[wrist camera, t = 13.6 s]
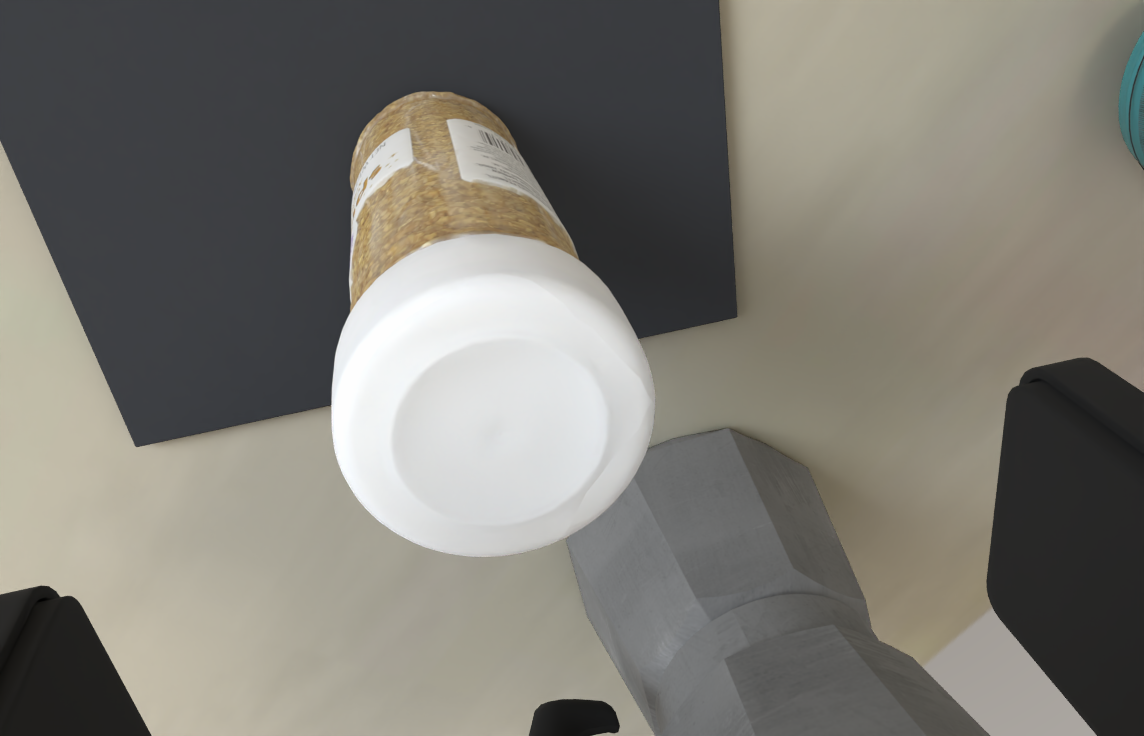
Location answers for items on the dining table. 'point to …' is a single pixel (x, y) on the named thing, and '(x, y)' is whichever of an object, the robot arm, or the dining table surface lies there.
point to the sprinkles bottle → (477, 344)
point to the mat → (338, 169)
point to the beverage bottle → (1133, 102)
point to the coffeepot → (738, 608)
